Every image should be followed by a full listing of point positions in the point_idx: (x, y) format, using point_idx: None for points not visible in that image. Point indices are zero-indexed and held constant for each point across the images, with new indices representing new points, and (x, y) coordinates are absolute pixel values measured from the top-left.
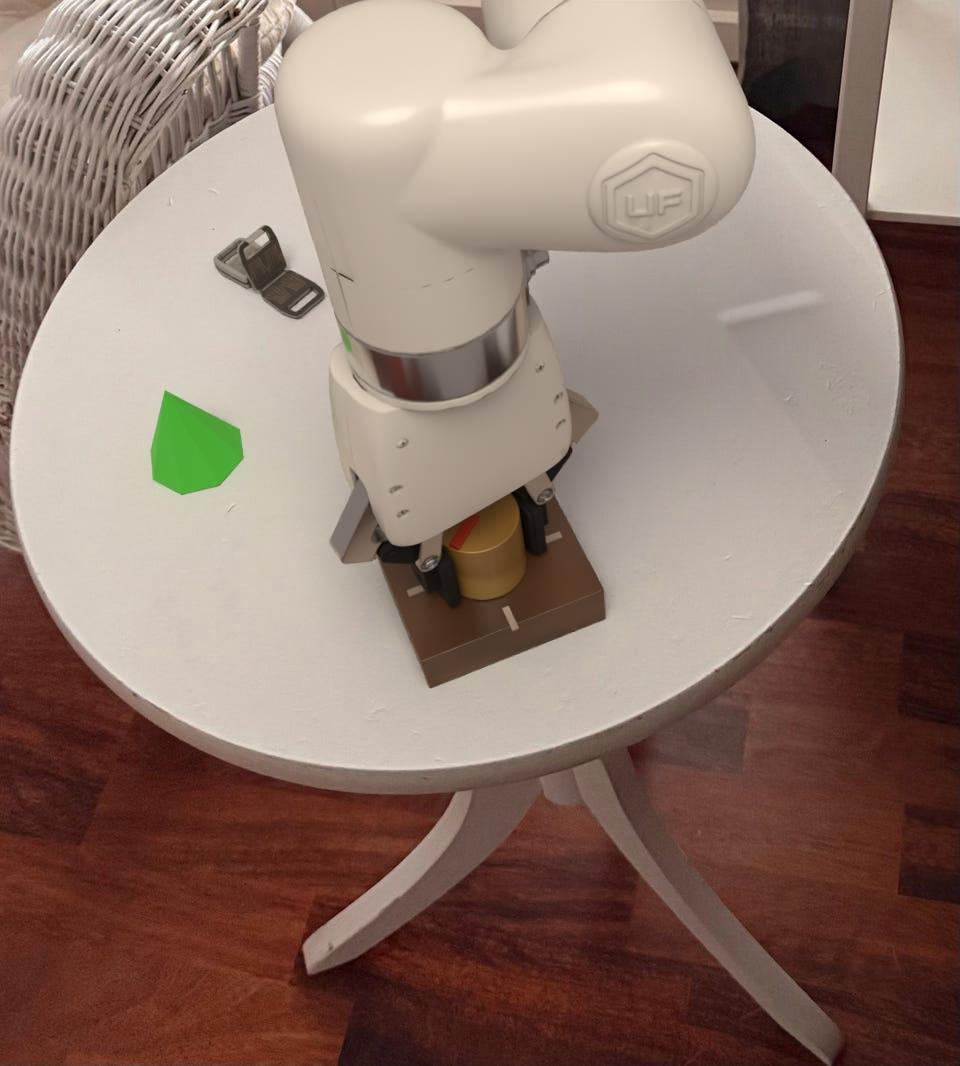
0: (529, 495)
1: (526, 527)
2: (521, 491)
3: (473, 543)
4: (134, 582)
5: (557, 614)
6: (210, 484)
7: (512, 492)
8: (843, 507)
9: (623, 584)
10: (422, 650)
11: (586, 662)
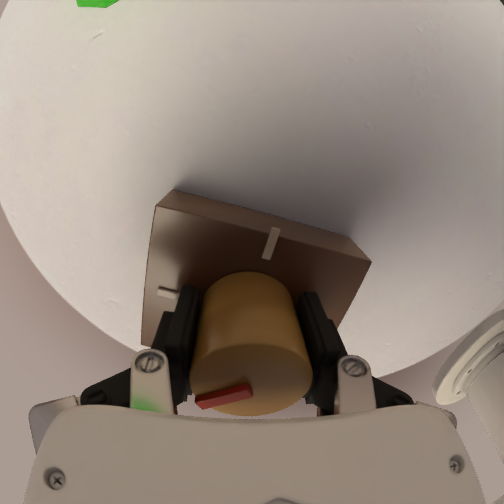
0: (319, 410)
1: None
2: (318, 401)
3: (223, 405)
4: (13, 80)
5: None
6: (98, 5)
7: (315, 374)
8: (440, 346)
9: None
10: (146, 338)
11: None
